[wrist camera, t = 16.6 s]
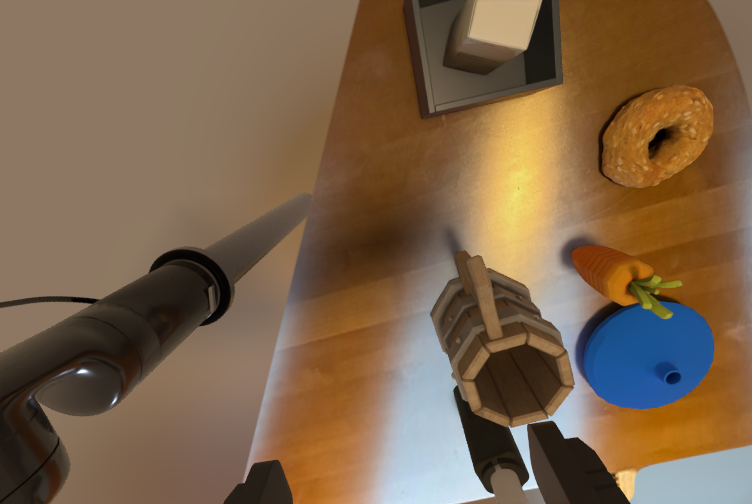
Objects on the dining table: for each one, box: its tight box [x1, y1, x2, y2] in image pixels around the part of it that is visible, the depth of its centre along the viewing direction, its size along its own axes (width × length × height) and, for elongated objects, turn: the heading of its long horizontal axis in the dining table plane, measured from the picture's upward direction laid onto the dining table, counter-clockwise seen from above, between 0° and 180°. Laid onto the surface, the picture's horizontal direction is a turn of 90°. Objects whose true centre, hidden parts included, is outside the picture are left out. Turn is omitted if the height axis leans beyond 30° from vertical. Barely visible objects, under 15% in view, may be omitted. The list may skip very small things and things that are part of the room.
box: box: [443, 0, 542, 75], centre depth 32 cm, size 5×4×11 cm
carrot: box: [572, 245, 682, 319], centre depth 37 cm, size 5×5×15 cm
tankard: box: [431, 250, 575, 428], centre depth 39 cm, size 20×13×15 cm, turn 20°
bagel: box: [602, 85, 714, 188], centre depth 38 cm, size 10×11×5 cm
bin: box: [403, 0, 563, 119], centre depth 34 cm, size 12×11×8 cm
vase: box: [584, 301, 714, 409], centre depth 44 cm, size 16×16×7 cm
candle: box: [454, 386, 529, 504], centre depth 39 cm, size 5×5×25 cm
